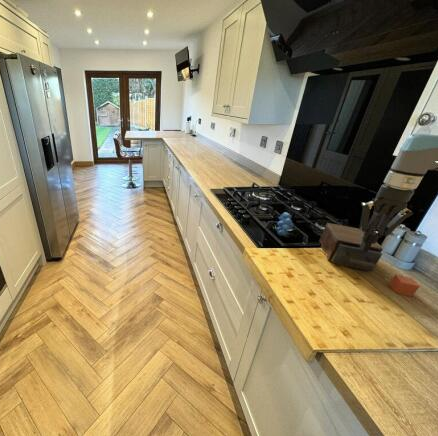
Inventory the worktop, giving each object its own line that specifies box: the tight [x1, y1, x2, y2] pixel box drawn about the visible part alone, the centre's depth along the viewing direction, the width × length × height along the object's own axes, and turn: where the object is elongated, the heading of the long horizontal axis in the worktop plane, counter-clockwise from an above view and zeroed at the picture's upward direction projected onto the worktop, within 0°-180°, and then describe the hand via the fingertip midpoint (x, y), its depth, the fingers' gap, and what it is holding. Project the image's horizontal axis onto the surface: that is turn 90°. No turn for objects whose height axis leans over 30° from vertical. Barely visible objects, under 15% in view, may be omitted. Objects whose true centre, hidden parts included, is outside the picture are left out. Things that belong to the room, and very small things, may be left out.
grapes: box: [275, 211, 295, 237], centre depth 107 cm, size 12×7×12 cm, turn 165°
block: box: [388, 274, 421, 298], centre depth 78 cm, size 4×4×4 cm
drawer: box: [330, 242, 383, 272], centre depth 91 cm, size 20×13×8 cm, turn 158°
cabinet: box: [318, 222, 384, 262], centre depth 95 cm, size 16×14×10 cm
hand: (363, 249), depth 84 cm, fingers closed
